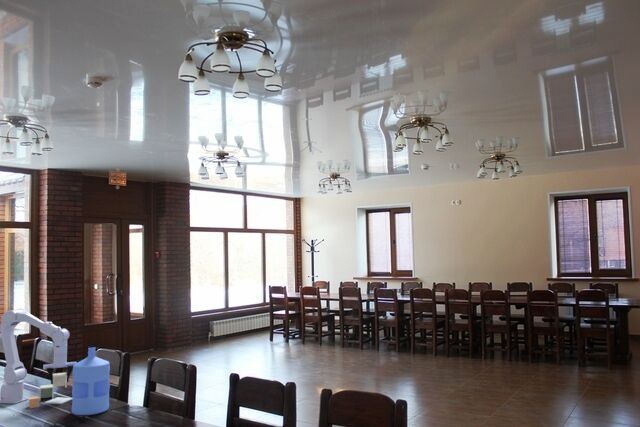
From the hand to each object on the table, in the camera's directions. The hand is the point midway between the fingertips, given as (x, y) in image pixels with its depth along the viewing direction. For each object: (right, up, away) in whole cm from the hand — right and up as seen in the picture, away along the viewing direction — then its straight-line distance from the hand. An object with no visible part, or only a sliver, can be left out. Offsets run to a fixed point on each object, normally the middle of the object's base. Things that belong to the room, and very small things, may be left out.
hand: (59, 382), depth 256 cm
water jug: (+23, -7, -18) cm, 30 cm away
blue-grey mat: (0, -9, -1) cm, 9 cm away
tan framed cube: (0, -2, 0) cm, 2 cm away
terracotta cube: (-7, -8, -9) cm, 14 cm away
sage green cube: (-9, -9, +4) cm, 13 cm away
